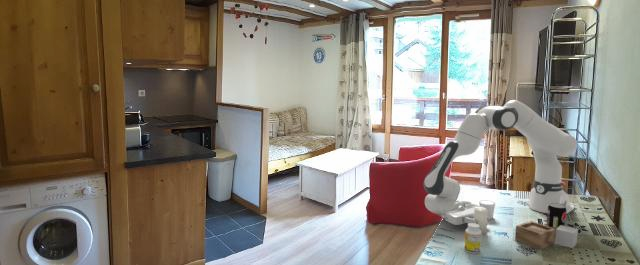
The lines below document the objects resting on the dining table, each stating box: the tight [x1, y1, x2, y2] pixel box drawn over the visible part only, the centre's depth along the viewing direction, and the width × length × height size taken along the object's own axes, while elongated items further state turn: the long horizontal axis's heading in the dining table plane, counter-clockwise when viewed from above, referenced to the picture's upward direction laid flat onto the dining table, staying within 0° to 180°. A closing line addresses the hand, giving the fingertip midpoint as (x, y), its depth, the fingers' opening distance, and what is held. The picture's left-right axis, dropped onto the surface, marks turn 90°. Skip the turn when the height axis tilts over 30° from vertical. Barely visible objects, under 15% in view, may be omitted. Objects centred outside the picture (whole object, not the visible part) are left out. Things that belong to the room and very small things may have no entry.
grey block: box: [554, 225, 579, 249], centre depth 151 cm, size 6×6×6 cm
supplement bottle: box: [464, 223, 482, 255], centre depth 144 cm, size 6×6×10 cm
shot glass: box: [478, 199, 496, 220], centre depth 181 cm, size 7×7×7 cm
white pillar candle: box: [474, 208, 488, 236], centre depth 161 cm, size 5×5×10 cm
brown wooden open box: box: [514, 220, 556, 250], centre depth 153 cm, size 10×10×6 cm
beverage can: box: [545, 203, 567, 229], centre depth 161 cm, size 7×7×12 cm
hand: (482, 220), depth 161 cm, fingers open, 6 cm apart
